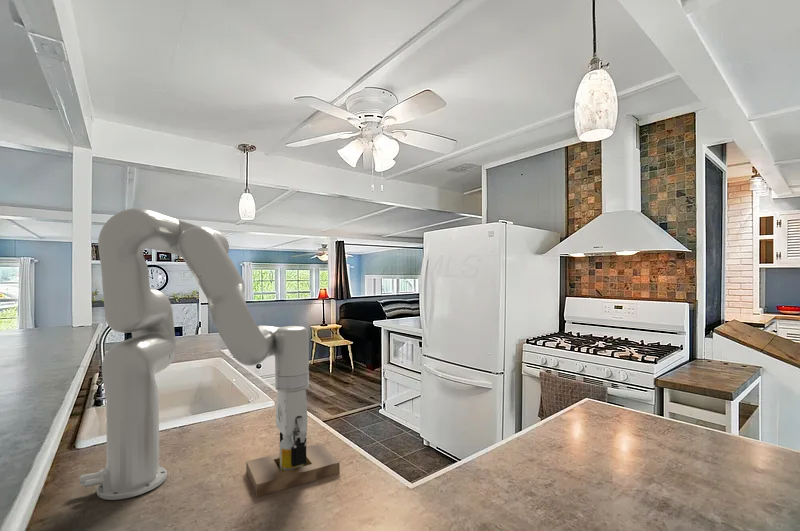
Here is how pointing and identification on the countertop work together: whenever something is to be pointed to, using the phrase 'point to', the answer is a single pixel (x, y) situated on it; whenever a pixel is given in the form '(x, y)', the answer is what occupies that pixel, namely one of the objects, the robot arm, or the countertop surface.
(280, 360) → the robot arm
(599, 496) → the countertop surface
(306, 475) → the frame
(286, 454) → the supplement bottle
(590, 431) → the countertop surface
